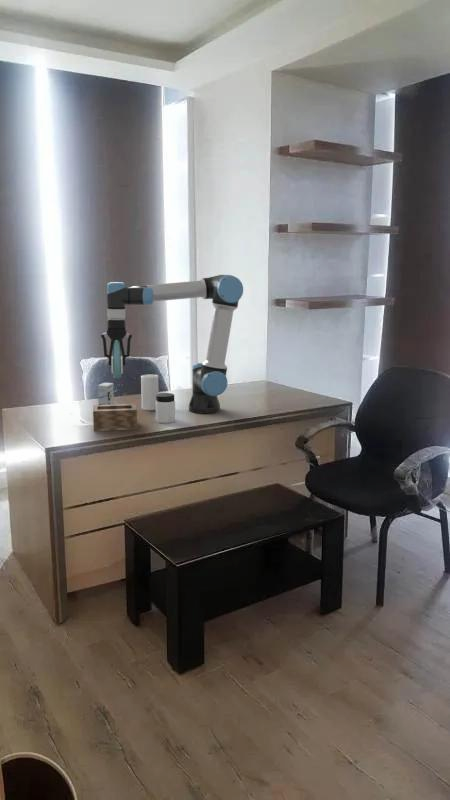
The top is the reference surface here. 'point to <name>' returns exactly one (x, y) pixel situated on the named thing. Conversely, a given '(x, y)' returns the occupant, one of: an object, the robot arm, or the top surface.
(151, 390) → the cup
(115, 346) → the peg
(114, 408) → the socket
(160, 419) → the jar
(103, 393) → the ink box
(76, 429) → the top surface
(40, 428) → the top surface
